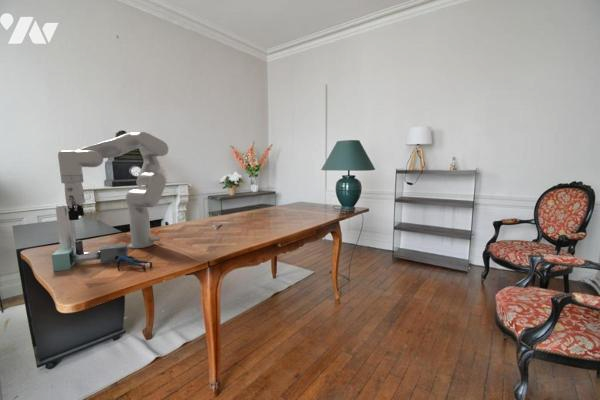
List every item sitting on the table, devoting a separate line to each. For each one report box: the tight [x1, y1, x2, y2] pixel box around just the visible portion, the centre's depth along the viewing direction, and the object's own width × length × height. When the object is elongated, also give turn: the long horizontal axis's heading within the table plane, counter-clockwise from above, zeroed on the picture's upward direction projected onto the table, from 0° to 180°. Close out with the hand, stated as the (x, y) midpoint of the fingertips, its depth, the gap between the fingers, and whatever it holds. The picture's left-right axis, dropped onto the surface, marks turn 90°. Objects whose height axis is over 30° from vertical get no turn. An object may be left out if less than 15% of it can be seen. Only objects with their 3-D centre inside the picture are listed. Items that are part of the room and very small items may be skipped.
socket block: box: [51, 248, 75, 272], centre depth 123 cm, size 6×9×7 cm, turn 27°
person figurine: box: [115, 255, 153, 272], centre depth 123 cm, size 11×4×18 cm
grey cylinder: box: [55, 204, 77, 254], centre depth 139 cm, size 6×6×25 cm
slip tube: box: [69, 239, 101, 263], centre depth 126 cm, size 17×4×10 cm, turn 117°
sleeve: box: [99, 242, 129, 265], centre depth 131 cm, size 10×7×7 cm
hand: (76, 217), depth 123 cm, fingers open, 9 cm apart
